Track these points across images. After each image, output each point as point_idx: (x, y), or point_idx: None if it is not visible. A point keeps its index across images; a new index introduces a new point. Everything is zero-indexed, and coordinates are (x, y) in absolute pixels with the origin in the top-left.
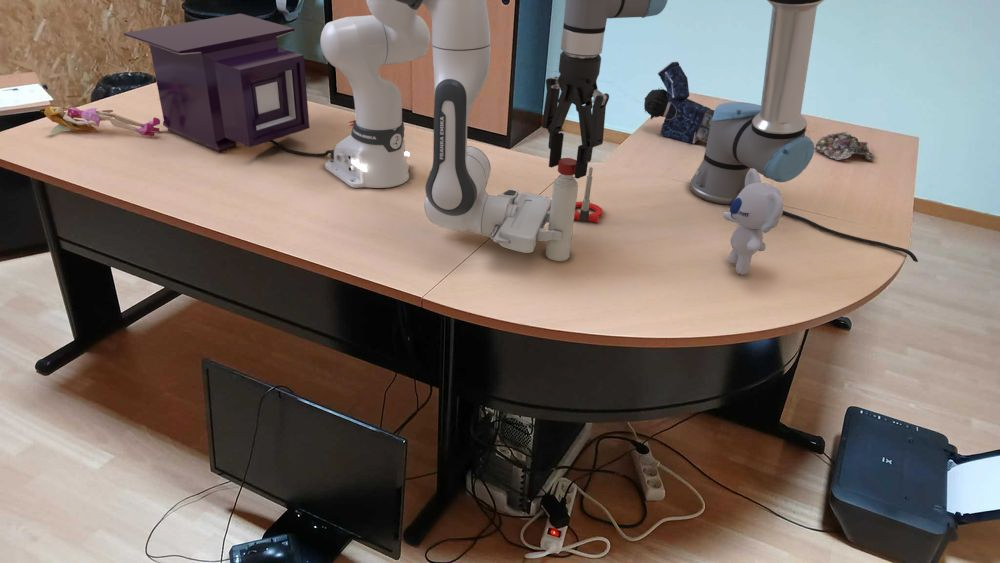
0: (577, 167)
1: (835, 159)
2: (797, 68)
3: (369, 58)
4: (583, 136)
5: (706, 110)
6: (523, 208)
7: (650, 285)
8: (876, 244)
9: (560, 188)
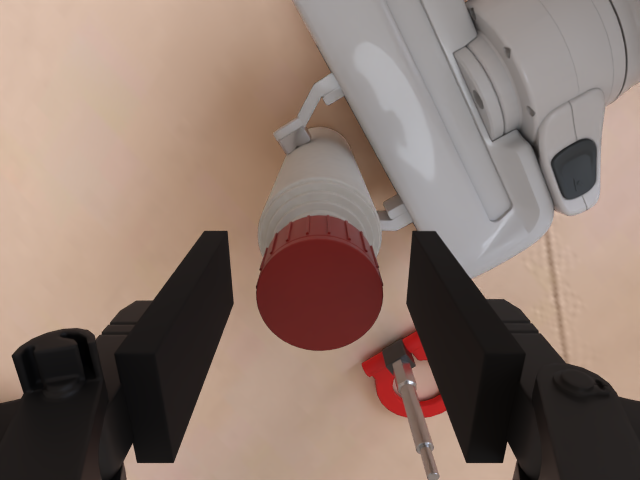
0: (194, 259)
1: None
2: None
3: None
4: (37, 459)
5: None
6: (478, 153)
7: (74, 231)
8: None
9: (301, 179)
